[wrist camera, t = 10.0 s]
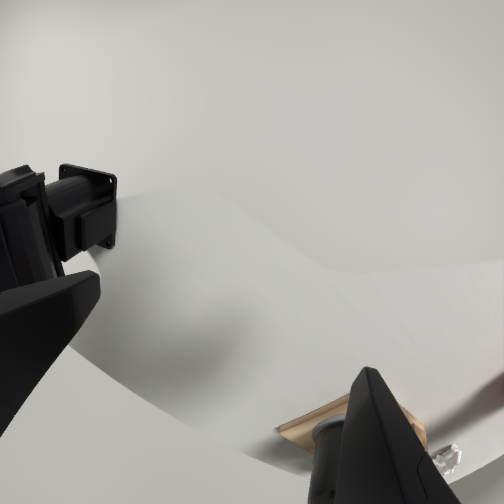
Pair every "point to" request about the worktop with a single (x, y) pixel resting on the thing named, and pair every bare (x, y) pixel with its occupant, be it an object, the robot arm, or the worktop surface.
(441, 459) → the clip
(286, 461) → the worktop surface
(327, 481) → the supplement bottle
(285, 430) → the holder
